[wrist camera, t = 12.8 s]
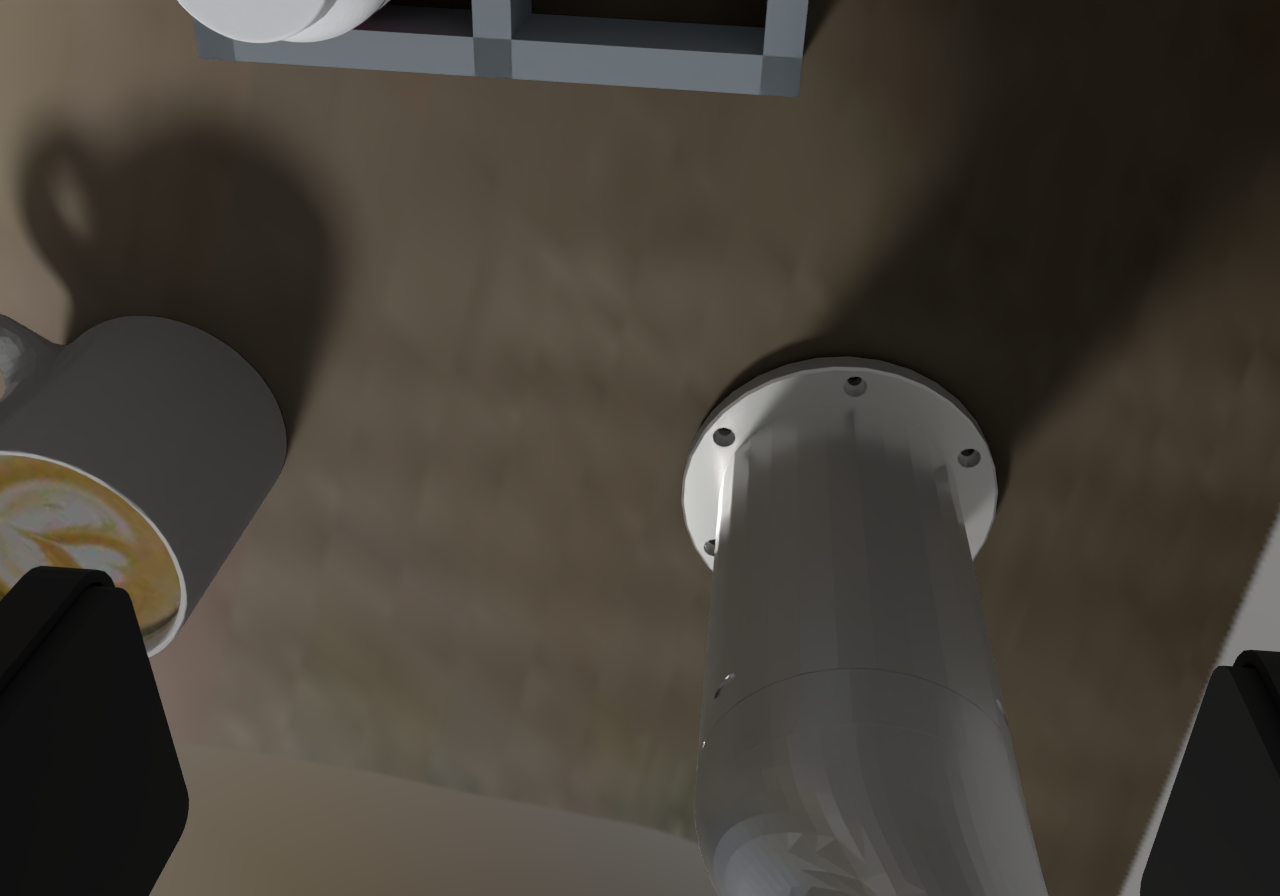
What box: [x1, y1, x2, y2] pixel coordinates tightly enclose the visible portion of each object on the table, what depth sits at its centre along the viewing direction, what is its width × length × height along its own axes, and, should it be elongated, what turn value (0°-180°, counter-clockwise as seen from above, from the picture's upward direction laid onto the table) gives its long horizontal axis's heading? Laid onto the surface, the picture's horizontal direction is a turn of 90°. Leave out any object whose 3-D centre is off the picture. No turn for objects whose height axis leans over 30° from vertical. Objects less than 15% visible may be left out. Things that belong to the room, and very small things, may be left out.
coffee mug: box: [0, 314, 287, 658], centre depth 45 cm, size 13×10×10 cm
